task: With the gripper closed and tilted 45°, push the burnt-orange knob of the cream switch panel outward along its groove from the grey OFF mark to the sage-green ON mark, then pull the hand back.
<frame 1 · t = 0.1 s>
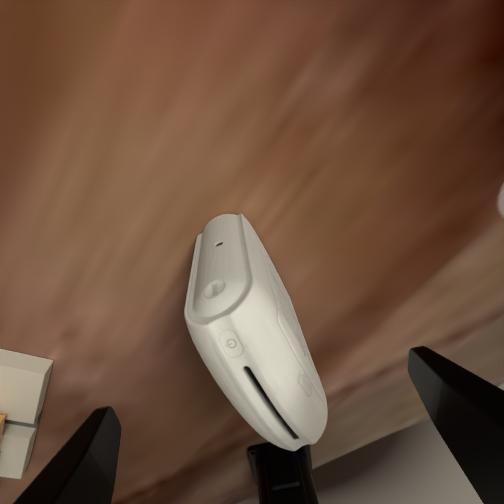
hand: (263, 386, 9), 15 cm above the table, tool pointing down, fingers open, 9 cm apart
photo printer: (246, 269, 25), on the table
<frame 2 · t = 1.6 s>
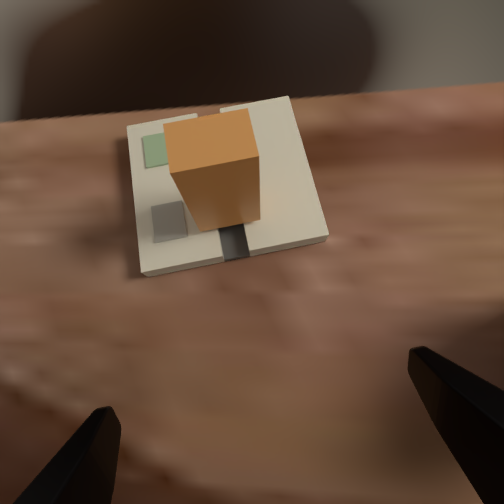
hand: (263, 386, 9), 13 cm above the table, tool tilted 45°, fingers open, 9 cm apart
switch panel: (223, 185, 27), on the table
switch knob: (221, 184, 21), point 5 cm above the table, slide at 0.0 cm
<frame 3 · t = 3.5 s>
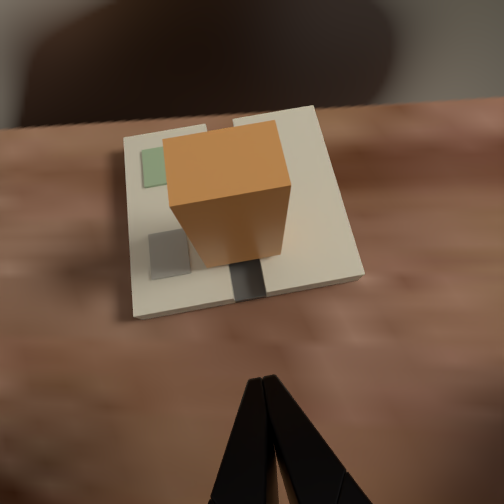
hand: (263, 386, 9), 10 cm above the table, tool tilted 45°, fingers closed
switch panel: (234, 209, 22), on the table
switch knob: (235, 214, 16), point 5 cm above the table, slide at 0.0 cm
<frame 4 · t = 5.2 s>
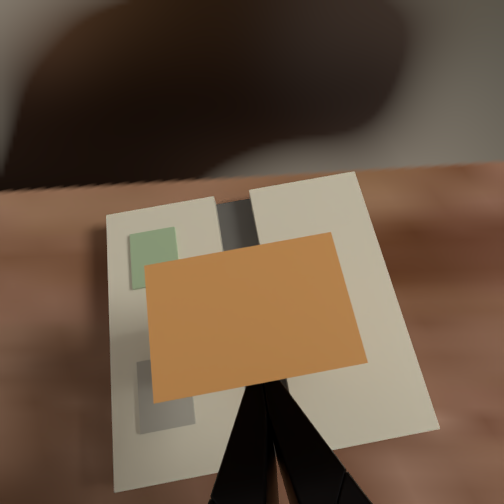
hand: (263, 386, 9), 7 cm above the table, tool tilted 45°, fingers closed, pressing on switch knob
switch panel: (253, 312, 17), on the table
switch knob: (254, 330, 11), point 5 cm above the table, slide at 1.6 cm, touching gripper
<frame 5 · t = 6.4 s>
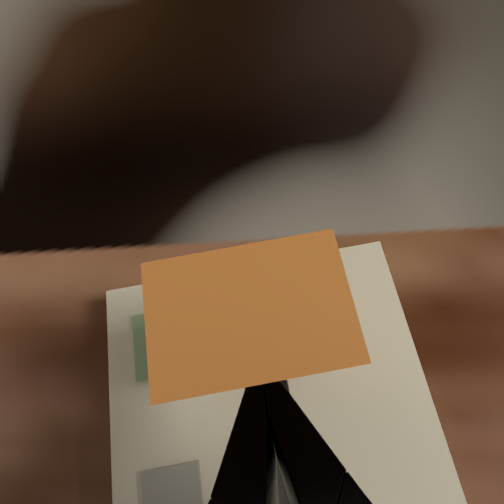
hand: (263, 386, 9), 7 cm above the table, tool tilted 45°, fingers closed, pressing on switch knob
switch panel: (268, 401, 15), on the table
switch knob: (254, 329, 11), point 5 cm above the table, slide at 6.0 cm, touching gripper
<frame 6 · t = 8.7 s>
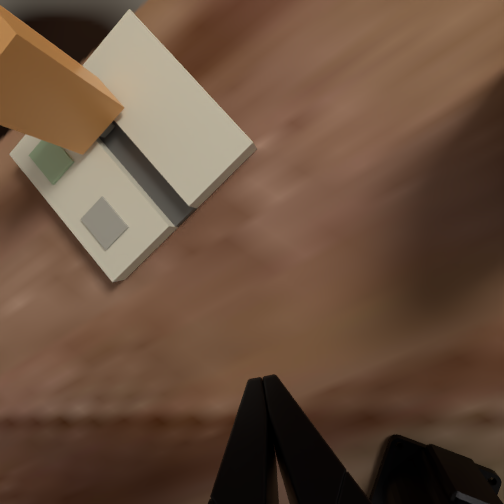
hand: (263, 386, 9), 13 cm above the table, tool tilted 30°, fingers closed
switch panel: (132, 154, 24), on the table
switch knob: (50, 95, 19), point 5 cm above the table, slide at 6.0 cm
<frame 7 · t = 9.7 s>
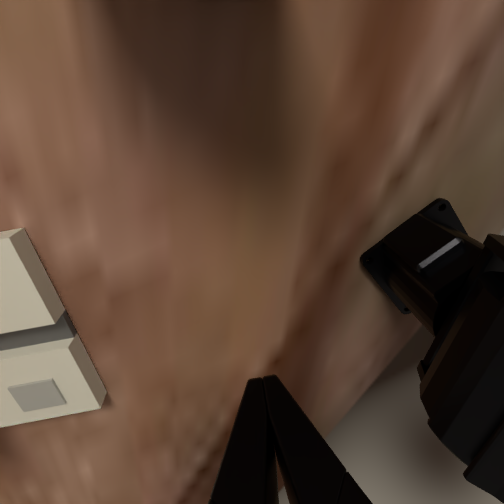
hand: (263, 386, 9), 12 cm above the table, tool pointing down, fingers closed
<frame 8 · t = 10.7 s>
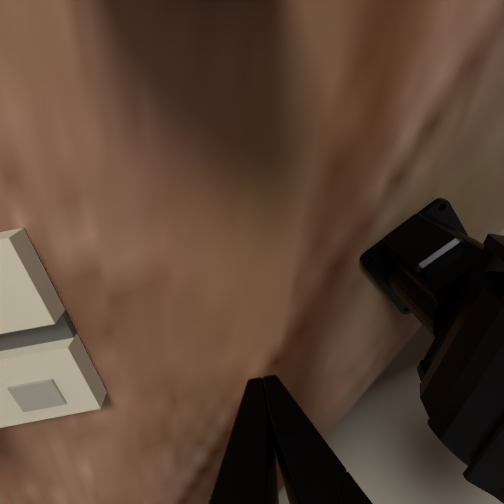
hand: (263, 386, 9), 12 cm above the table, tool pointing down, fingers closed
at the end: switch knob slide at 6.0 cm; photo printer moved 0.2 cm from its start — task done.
